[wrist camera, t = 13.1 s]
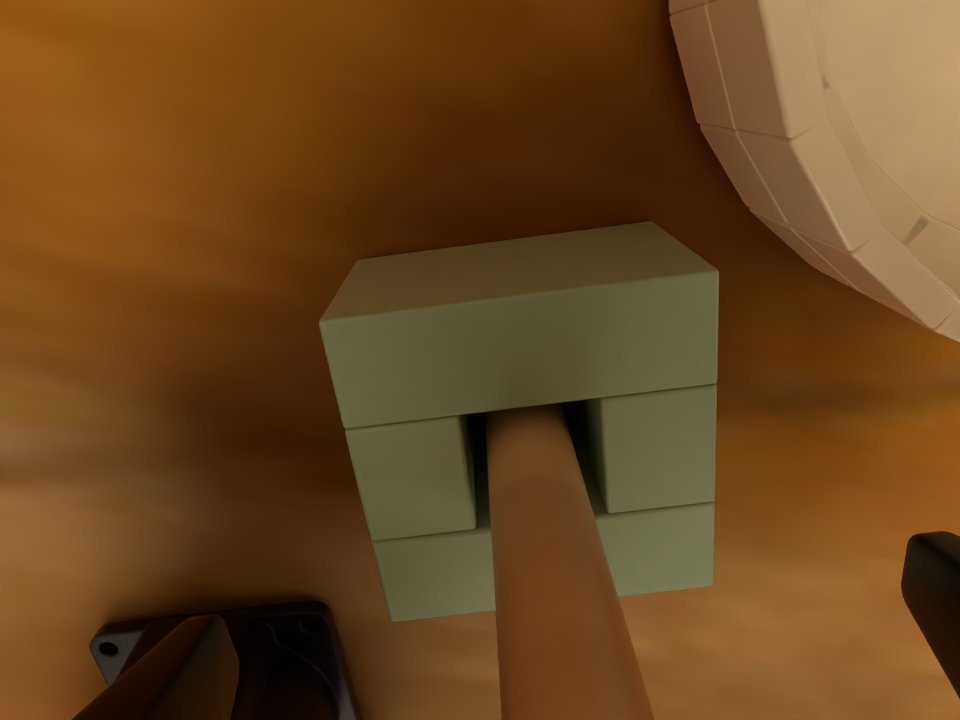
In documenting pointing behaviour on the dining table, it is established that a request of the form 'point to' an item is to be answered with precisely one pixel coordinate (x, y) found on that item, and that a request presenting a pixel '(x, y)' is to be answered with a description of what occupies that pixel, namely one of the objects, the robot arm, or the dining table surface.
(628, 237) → the stand
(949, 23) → the bowl
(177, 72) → the dining table surface
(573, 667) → the stick
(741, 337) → the dining table surface
